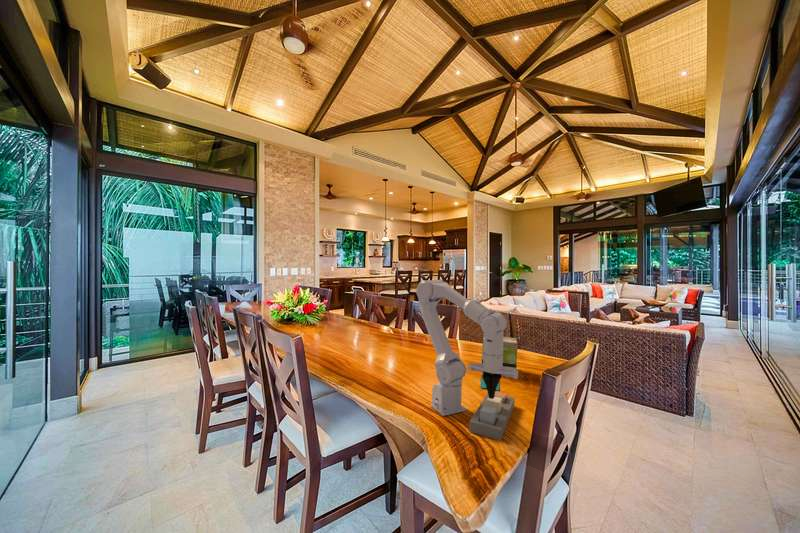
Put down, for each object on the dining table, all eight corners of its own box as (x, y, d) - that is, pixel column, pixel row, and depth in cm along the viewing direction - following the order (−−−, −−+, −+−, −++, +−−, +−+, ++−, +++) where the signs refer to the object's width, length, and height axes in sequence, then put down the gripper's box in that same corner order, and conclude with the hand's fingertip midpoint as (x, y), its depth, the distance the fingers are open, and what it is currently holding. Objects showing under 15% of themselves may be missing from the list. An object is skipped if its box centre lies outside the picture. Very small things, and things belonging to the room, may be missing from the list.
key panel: (500, 440, 89) (501, 430, 89) (469, 431, 94) (469, 421, 94) (514, 406, 111) (514, 397, 111) (488, 400, 115) (488, 391, 115)
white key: (499, 416, 99) (499, 402, 99) (486, 413, 101) (486, 399, 101) (501, 411, 103) (502, 398, 103) (488, 408, 105) (489, 395, 105)
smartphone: (498, 376, 137) (499, 390, 123) (498, 378, 137) (499, 392, 123) (481, 374, 139) (480, 387, 125) (481, 376, 139) (480, 389, 125)
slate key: (493, 428, 92) (494, 413, 92) (479, 425, 94) (480, 410, 94) (496, 422, 96) (496, 408, 96) (483, 419, 98) (483, 405, 98)
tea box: (481, 371, 144) (482, 339, 143) (482, 364, 153) (483, 334, 153) (516, 376, 139) (517, 342, 139) (515, 368, 149) (516, 337, 148)
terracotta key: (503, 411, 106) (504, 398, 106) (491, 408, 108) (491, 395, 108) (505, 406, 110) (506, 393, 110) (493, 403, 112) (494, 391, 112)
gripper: (519, 353, 98) (518, 397, 98) (472, 346, 104) (471, 387, 105) (516, 359, 91) (515, 406, 92) (466, 351, 98) (465, 395, 98)
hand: (491, 397), depth 98 cm, fingers closed
